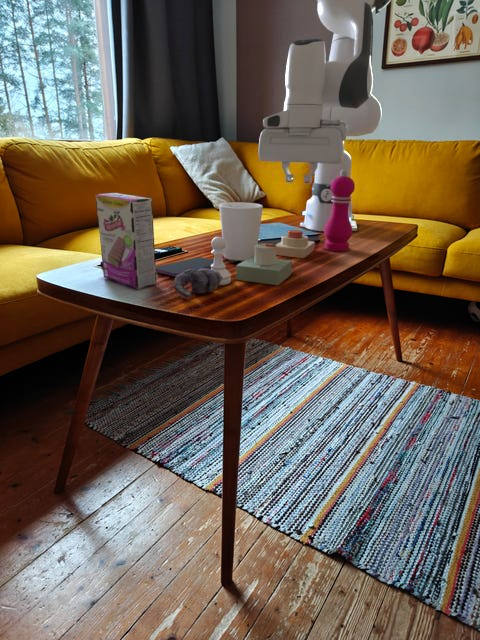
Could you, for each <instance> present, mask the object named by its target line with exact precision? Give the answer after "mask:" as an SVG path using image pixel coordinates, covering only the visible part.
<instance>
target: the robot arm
mask: <svg viewBox="0 0 480 640" xmlns="http://www.w3.org/2000/svg"><path fill="white" fill-rule="evenodd" d="M391 1H392V0H315V2H316V3H317V7H316V9H317V15H318V18H319V20H320V23H321V24H322V25H323V26H324V27H325V28H326V29H327V30H328V31H330V32H331V33H333V34H332V35H333V36H332V40H331V45H330V51H329V57H328V61H327V60H326V42H325V40H323V39H321V38H309V39H297V40H294V41H293V42H292V43H290V45H289V49H288V52H287V53H288V54H287V61H286V67H285V76H284V77H285V81H284V82H285V83H284V86H285V91H286V93H285V99H284V102H283V110H282V111H280V112H277V113H274V114H271V115H269V116H266V117H264V118H263V120H262V125H263V128H264V129H263V130H262V131H261V132H260V136H259V140H258V141H259V142H258V151H257V154H258V155H257V157H258V159H259V161H261V162H273V163H275V162H277V163H278V162H280V163H281V169H282V171H283V172H284V175H285V183H294V177H295V174H292V173H291V172H290V169H289V167H291V163H305V164H309V169H310V170H309V173H308V174H305V175H304V176H303V179H304V180H303V183H304V184H312V186H311V195H312V196H311V197H310V198H309V199H308V200H307V201H306V205H305V210H304V211H302V216H304V221H302V222H300V223H299V227H302V228H306V229H308V230H311V231H316V232H317V231H318V232H324V230H325V227H326V224H327V222H328V221H329V219H330V217H331V214H332V210H333V202H332V201H331V200H332V196H333V193H332V192H331V189H330V187H331V183H332V181H333V180H334V179H335V178H337V177H340V176H341V175H340V172H341V171H342V170H346V171H347V172H348V174H347V177H350V178H351V174H352V164H353V161H352V160H353V159H352V157H351V155H350V154H349V152H347V151H346V150H345V140H346V138H347V137H360V136H365V135H370V134H373V133H374V132H375V131H376V130H377V129H378V127H379V125H380V123H381V120H382V115H383V114H382V113H383V112H382V107H381V103H380V101H378V98H376V97H375V96H374V95H373V94H372V91H373V83H374V82H373V81H374V78H373V70H372V65H373V64H372V63H373V62H372V61H373V45H374V16H373V11H374V13H375V15H376V16H377V15H379V14H380V13H381V10H382V9H384V8H385V7H387V6H388V5H389V4H390V2H391ZM313 176H314V178H313ZM313 179H314V180H313ZM312 180H313V181H314V182H313V181H312ZM312 182H313V183H312ZM352 202H353V201H351V203H349V207H348V216H349V220H350V223H351V226H352V232H357V231H358V226H357V221H356V220H354V218H355V215H354V214H353V206H354V204H353V203H352Z"/></svg>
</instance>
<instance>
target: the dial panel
mask: <svg viewBox="0 0 480 640" xmlns="http://www.w3.org/2000/svg"><path fill="white" fill-rule="evenodd" d="M235 268H236V269H235V280H236V281H242V282H243V281H244V282H250V283H258V284H263V285H272V286H280V285H281V284H282V283H283V282H284V281H286V279H288V278H289V277H290V276H291V275H292V272H293V260H292V259H291V260H289V259H281V258H276V263H275V264H273V265H258V264H256V263H254V256H252V257H250V258H248V259H247V260H245V261H243V262H241V261H240V263H238V264H236V266H235Z"/></svg>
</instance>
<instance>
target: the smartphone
mask: <svg viewBox="0 0 480 640" xmlns="http://www.w3.org/2000/svg"><path fill="white" fill-rule="evenodd" d="M213 263H214V259H212V258H207V257H202V256H197V257H192V258H187V259H183V260H179V261H174V262H170V263H165V264H159V265H156V274H157V273H158V274H164V275H167V276H171V277H176V276H177V275H179V274H180V273H182V272H184V271H187V270H189V269H194V270H199V269H202V268H205V269H211V265H212V264H213Z"/></svg>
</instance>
